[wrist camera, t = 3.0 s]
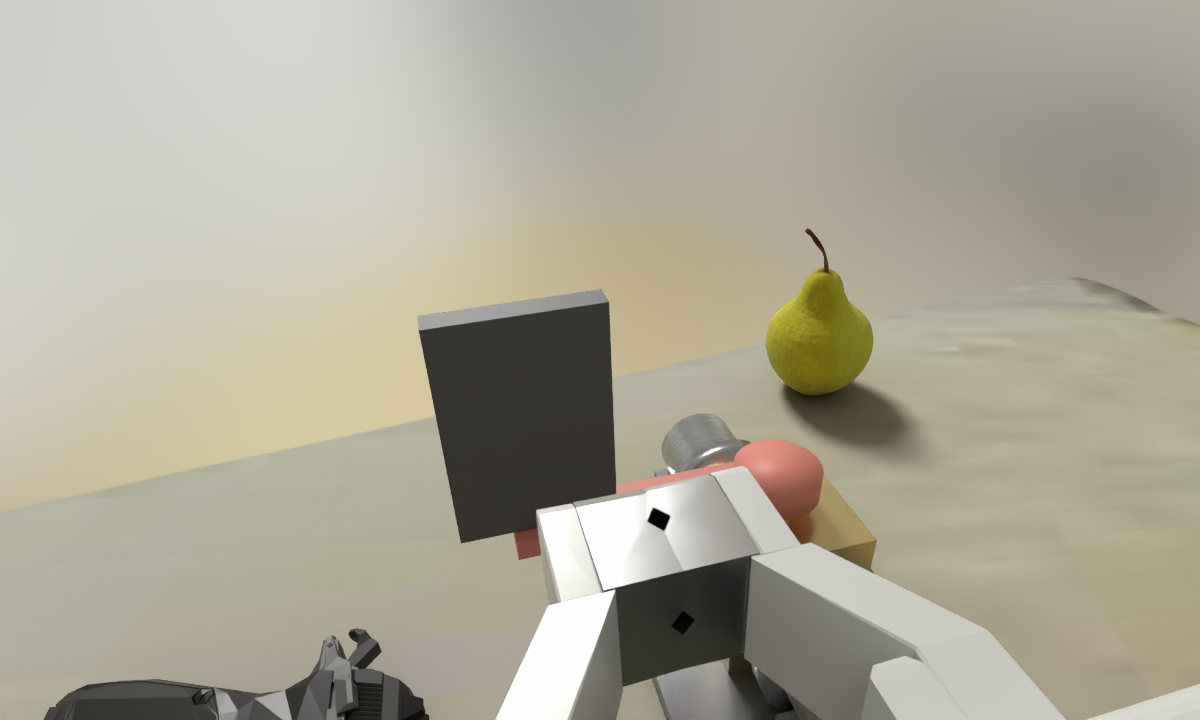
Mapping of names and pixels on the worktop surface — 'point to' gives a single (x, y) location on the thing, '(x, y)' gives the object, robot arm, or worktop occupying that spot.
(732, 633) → the robot arm
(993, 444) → the worktop surface
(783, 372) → the fruit
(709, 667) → the valve
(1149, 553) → the worktop surface
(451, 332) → the lever
